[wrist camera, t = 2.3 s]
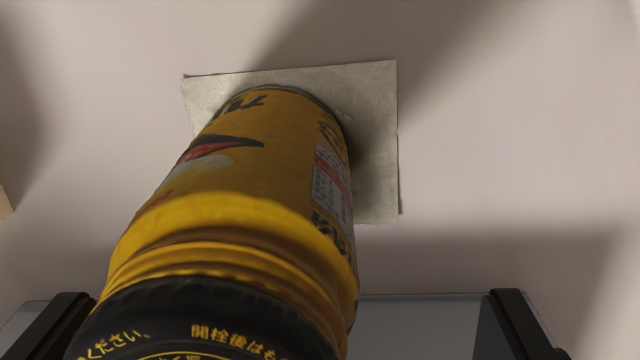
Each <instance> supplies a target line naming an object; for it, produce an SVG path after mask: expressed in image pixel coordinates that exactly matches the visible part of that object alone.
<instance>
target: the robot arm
mask: <svg viewBox="0 0 640 360" xmlns="http://www.w3.org/2000/svg"><path fill="white" fill-rule="evenodd" d="M96 305H97V303H96V301H95V299H93V298H90V296H89V294H87V293H86V292H62V293H59V294H57V295H56V296H55V297H54V298H53V299H52V301H51V302H50V303H49V304H48V305H47V306H46V307H45V308H44V310H43V311H42V312H41V313H40V314H39V315H38V316H37V318H36V319H35V320H34V321H33V322H32V323H31V324H30V325H29V327H28V328H27V329H26V330H25V331H24V332H23V333H22V334H21V336H20V337H19V338H18V339H17V340H16V341H15V342H14V343H13V345H12V346H11V347H10V348H9V349H8V350H7V351H6V353H5V354H4V355H3V356H2V357H1V358H0V360H63V357H64V354H65V352H66V349H67V348H68V347H69V344H70V342H71V340H72V337H73V333H74V332H75V331H76V330H78V329H79V328H80V327H81V325H82V323H83V322H84V320H85V319H86V318H87V317H88V315H89V314H90V313H91V311H92V310H93V309H94V307H95V306H96ZM472 360H571V358H570V357H569V355H568V354H567V353H566V352H565V351H564V350H563V349H561V348H553V347H552V345H551V343H550V341H549V340H548V338H547V336H546V335H545V333H544V331H543V329H542V328H541V326H540V324H539V322H538V321H537V319H536V317H535V316H534V314H533V312H532V310H531V309H530V307H529V305H528V303H527V302H526V300H525V298H524V297H523V295H522V293H521V292H520V290H519V289H517V288H495V289H491V290H490V293H489V295H483V296H482V299H481V306H480V312H479V318H478V325H477V331H476V337H475V344H474V350H473V357H472Z"/></svg>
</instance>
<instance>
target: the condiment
mask: <svg viewBox="0 0 640 360" xmlns="http://www.w3.org/2000/svg"><path fill="white" fill-rule="evenodd" d="M179 81H180V84H181V88H182V93H183V96H184V100H185V104H186V109H187V111H188V116H189V120H190V123H191V126H192V130H193V134H194V138H195V139H194V140H193V141H192V142H191V143H190V146H189V148H188V149H187V150H186V151H185V152H184V153H183V154H182V156H181V157H180V158H179V160H178V161H177V163H176V165H175V166H174V167H173V168H172V170H171V171H170V173H169V174H168V175H167V177H166V178H165V179H164V180H163V182H162V183H161V185H160V186H159V187H158V188H157V189H156V191H155V192H154V194H153V195H152V197H151V198H150V199H149V200H148V201H147V202H146V203H145V204H144V205H143V206H142V207H141V208H140V209H139V210H138V211H137V212H136V214H135V216H134V218H133V219H132V221H131V222H130V224H129V226H128V228H127V229H126V230H125V232H124V233H123V235H122V237H121V239H120V240H119V242H118V244H117V245H116V247H115V248H114V251H113V253H112V256H111V260H110V265H109V270H108V278H107V283H106V285H105V287H104V289H103V290H102V292H101V294H100V297H99V301H98V304H97V305H96V306H95V307H94V309H93V310H92V311H91V313H90V314H89V315H88V317H87V318H86V319H85V320H84V322H83V323H82V325H81V327H80V328H79V329H78V330H76V331H75V332H74V333H73V337H72V340H71V342H70V344H69V347H68V348H67V349H66V352H65V354H64V357H63V360H346V358H347V350H348V339H347V338H348V336H349V334H350V332H351V329H352V326H353V324H354V322H355V320H356V316H357V308H358V302H359V289H360V283H359V275H358V271H357V261H356V258H357V257H356V248H355V235H354V229H353V224H384V223H398V178H397V174H398V169H397V135H396V132H397V92H396V89H397V70H396V59H395V60H384V61H376V62H361V63H352V64H343V65H332V66H320V67H306V68H294V69H280V70H268V71H258V72H245V73H235V74H223V75H214V76H201V77H192V78H184V79H179ZM335 108H338V109H339V110H340V111H341V112H342V115H338V114H337V113H336V112H335V110H336V109H335ZM343 114H347V115H349V116H351V117H352V120H351V121H348V120H346V119H345V118H344V117H343Z"/></svg>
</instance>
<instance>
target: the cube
mask: <svg viewBox="0 0 640 360" xmlns="http://www.w3.org/2000/svg"><path fill="white" fill-rule="evenodd" d="M12 213H14V211H13V208H12V206H11V204H10V202H9V199H8V197H7V195H6V193H5V190H4V188H3V186H2V184H1V182H0V223H1V222H2V221H4V220H5V219H6V218H7V217H9V216H10V215H11V214H12Z"/></svg>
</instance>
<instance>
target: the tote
mask: <svg viewBox="0 0 640 360" xmlns="http://www.w3.org/2000/svg"><path fill="white" fill-rule="evenodd" d="M521 293H522V295H523V297H524V298H525V300H526V302H527V303H528V305H529V307H530V309H531V310H532V312H533V314H534V316H535V317H536V319H537V321H538V322H539V324H540V326H541V328H542V329H543V331H544V333H545V335H546V336H547V338H548V340H549V341H550V343H551V345H552V347H553V348H558V347H557V345H556V343H555V341H554V340H553V338H552V336H551V335H550V333H549V331H548V330H547V328H546V326H545V324H544V323H543V321H542V319H541V318H540V316H539V314H538V313H537V311H536V309H535V307H534V306H533V304H532V302H531V301H530V299H529V297H528V295H527V294H526V292H521ZM483 295H489V293H465V294H411V295H359V302H358V308H357V316H356V320H355V322H354V324H353V326H352V329H351V332H350V334H349V336H348V338H347V339H348V350H347V358H346V360H472V357H473V350H474V344H475V337H476V331H477V325H478V318H479V312H480V306H481V299H482V296H483ZM95 301H96V303H97V304H98V301H99V300H95ZM50 302H51V301H33V302H25V303H24V304H23V305H22V306H21V307H20V309H19V310H18V311H17V312H16V313H15V314H14V315H13V316H12V317H11V319H10V320H9V321H8V322H7V323H6V324H5V325H4V326H3V328H2V329H1V330H0V358H1V357H2V356H3V355H4V354H5V353H6V351H7V350H8V349H9V348H10V347H11V346H12V345H13V343H14V342H15V341H16V340H17V339H18V338H19V337H20V336H21V334H22V333H23V332H24V331H25V330H26V329H27V328H28V327H29V325H30V324H31V323H32V322H33V321H34V320H35V319H36V318H37V316H38V315H39V314H40V313H41V312H42V311H43V310H44V308H45V307H46V306H47V305H48V304H49V303H50Z"/></svg>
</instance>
